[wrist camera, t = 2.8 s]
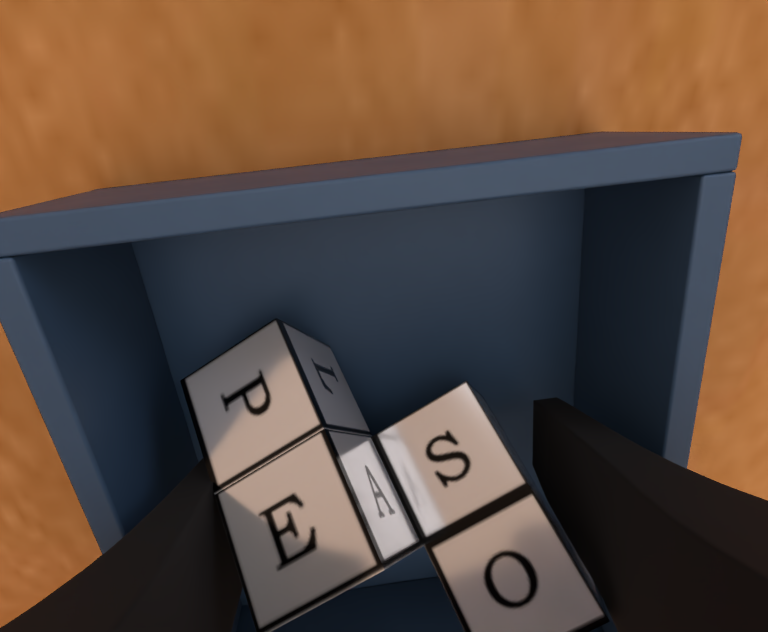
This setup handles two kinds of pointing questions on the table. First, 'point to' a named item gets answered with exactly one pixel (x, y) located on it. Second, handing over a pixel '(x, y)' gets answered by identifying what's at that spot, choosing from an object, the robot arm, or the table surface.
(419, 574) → the open box
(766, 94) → the table surface
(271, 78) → the table surface
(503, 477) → the building blocks
